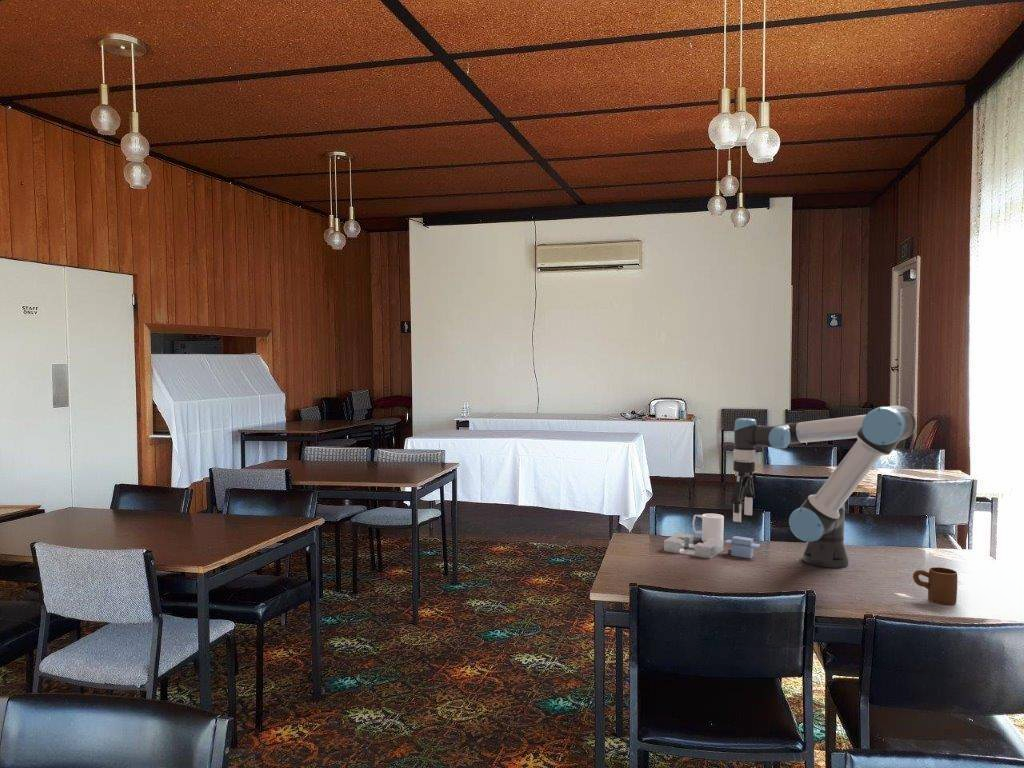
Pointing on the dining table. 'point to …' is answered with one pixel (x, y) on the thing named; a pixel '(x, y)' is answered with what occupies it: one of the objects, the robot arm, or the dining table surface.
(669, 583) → the dining table surface
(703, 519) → the cup
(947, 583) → the mug
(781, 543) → the dining table surface
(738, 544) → the servo
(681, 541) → the chassis
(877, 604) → the dining table surface
